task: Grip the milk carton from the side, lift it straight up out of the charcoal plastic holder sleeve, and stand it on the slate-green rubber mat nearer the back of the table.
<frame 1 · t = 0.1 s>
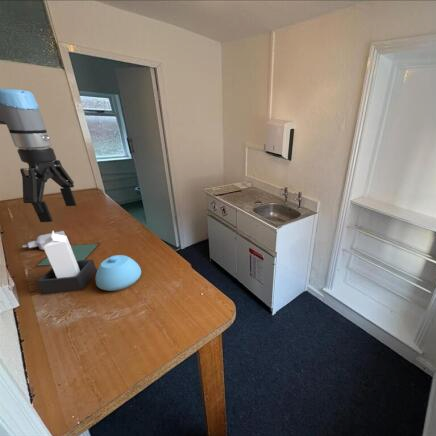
hand: (60, 213, 78), 32 cm above the table, tool pointing down, fingers open, 13 cm apart
glue bottle: (47, 246, 115), on the table
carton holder: (72, 281, 93), on the table
milk: (72, 282, 93), resting in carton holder
sugar bowl: (121, 281, 95), on the table
mat: (70, 254, 109), on the table
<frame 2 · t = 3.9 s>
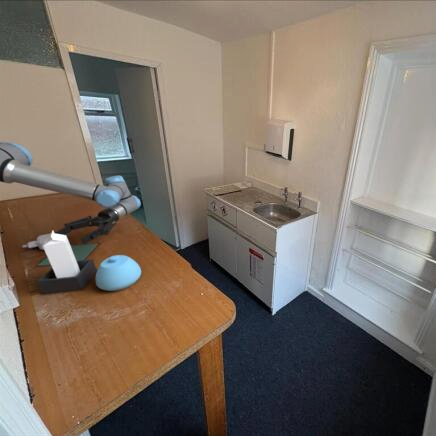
hand: (67, 239, 93), 15 cm above the table, tool horizontal, fingers open, 13 cm apart
nothing on the table moved.
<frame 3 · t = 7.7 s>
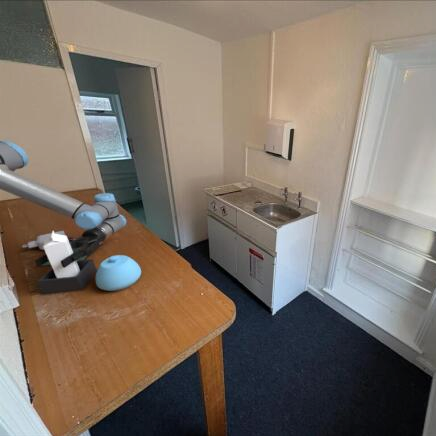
hand: (50, 263, 84), 12 cm above the table, tool horizontal, fingers closed on milk, 8 cm apart
milk: (72, 281, 93), resting in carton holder, touching gripper
everything else where it was.
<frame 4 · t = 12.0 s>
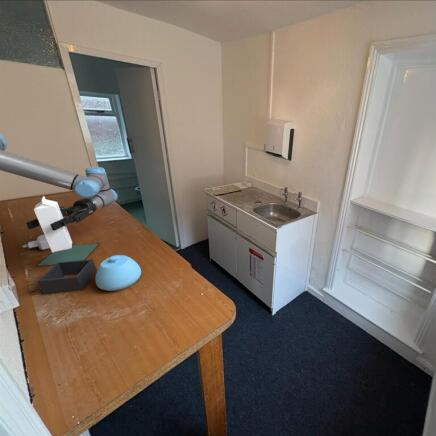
hand: (40, 226, 88), 22 cm above the table, tool horizontal, fingers closed on milk, 8 cm apart
milk: (62, 247, 97), point 10 cm above the table, touching gripper
everything else where it was.
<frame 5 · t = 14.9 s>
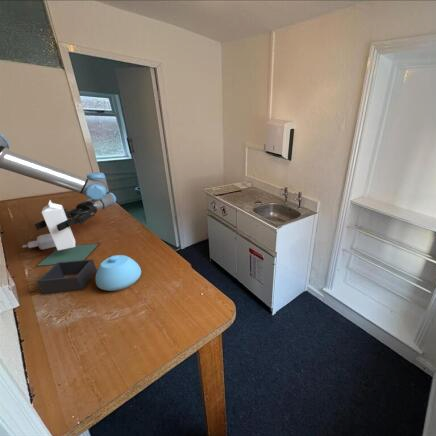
hand: (47, 227, 98), 17 cm above the table, tool horizontal, fingers closed on milk, 8 cm apart
milk: (67, 246, 108), point 4 cm above the table, touching gripper
everything else where it was.
when the fingers open (12 cm above the table, at t = 16.6 s): milk stays where it is, resting on mat.
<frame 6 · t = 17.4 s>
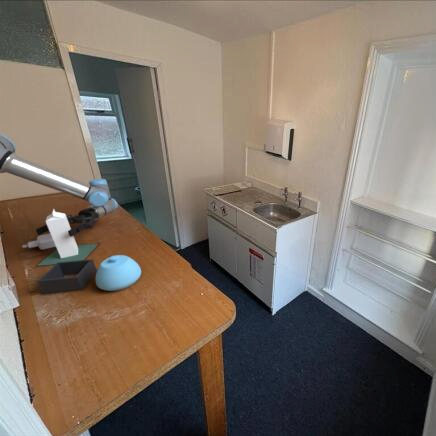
hand: (53, 233, 101), 13 cm above the table, tool horizontal, fingers open, 13 cm apart
milk: (70, 254, 109), resting on mat
everything else where it was.
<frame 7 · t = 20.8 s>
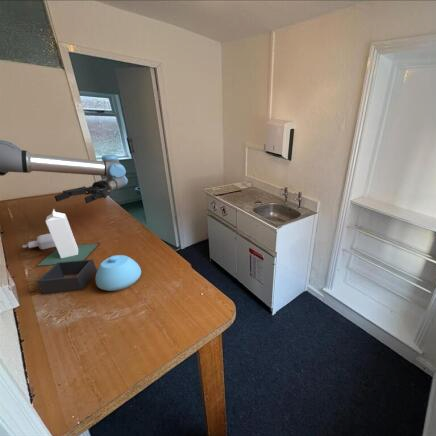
hand: (70, 199, 108), 24 cm above the table, tool horizontal, fingers open, 13 cm apart
nothing on the table moved.
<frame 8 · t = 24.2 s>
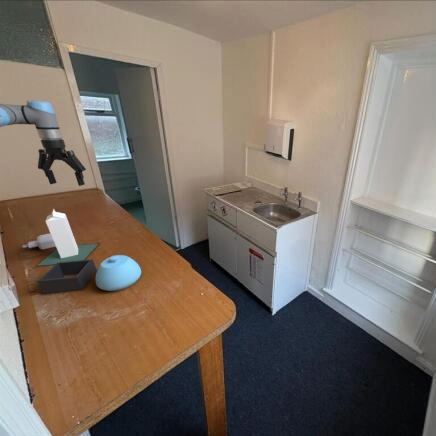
hand: (67, 184, 114), 29 cm above the table, tool pointing down, fingers open, 13 cm apart
nothing on the table moved.
at the end: milk inside the target area on the mat (0.1 cm from its centre), point 0.2 cm above the mat's base; milk tilted 0°; milk moved 24.6 cm from its start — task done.
